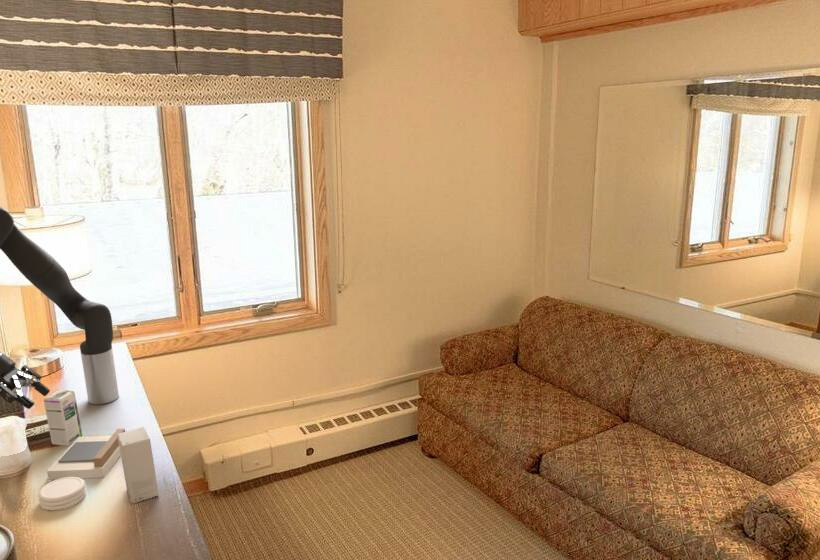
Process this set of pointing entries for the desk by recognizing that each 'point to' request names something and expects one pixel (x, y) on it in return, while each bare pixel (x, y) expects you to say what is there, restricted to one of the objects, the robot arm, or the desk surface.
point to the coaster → (62, 493)
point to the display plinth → (87, 457)
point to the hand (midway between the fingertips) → (40, 399)
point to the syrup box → (63, 417)
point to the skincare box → (138, 464)
